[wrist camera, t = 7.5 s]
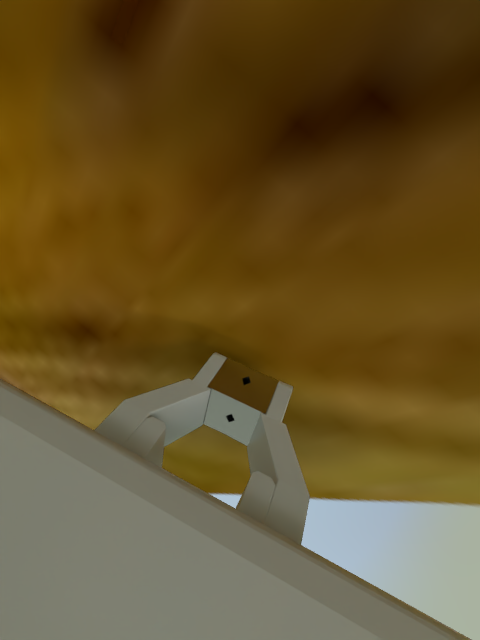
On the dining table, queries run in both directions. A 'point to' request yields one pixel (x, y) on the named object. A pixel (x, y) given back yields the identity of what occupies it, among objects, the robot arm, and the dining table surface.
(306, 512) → the robot arm
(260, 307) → the dining table surface
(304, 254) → the dining table surface
